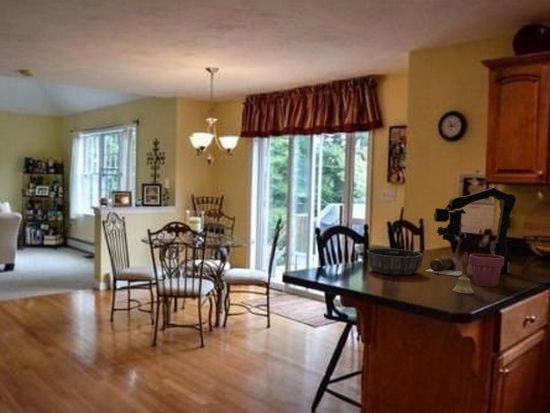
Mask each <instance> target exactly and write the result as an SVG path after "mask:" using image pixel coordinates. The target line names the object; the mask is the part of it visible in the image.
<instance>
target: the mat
mask: <svg viewBox="0 0 550 413" xmlns="http://www.w3.org/2000/svg"><path fill="white" fill-rule="evenodd" d="M424 272H425V273H432V274H438V273H439V274H440V275H447V276H451V277H452V276H453V277H454V276H455V277H461V276H462V273H463V272H462V271H458V270H456V271H452V270H441V271H434V270H432V269H431V268H428V269H426V270H424ZM439 274H438V275H439Z"/></svg>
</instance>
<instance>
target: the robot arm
mask: <svg viewBox="0 0 550 413" xmlns="http://www.w3.org/2000/svg"><path fill="white" fill-rule="evenodd" d="M490 197H492V198H494V199H496V200H498V202H499V204H498V205H499V209H500V212H499V218H498V223H497V224H498V225H497V231H496V236H495V240H494V241H492V240H491V241H490V247H489V250H490V253H491V255H498V256H503V257H504V266H502V268H501V272H500V274H506V275H507V274H510V272H511V271H510V262H511V260H512V257H511V255H510V254H509V253H508V245H507V241H506V240H507V233H508V229H509V222H510V217H511V212H512V211H513V209H514V207H515V204H516V202H517V198H516V196H515V195H514V194H513V193H505V192H503V191H501V190H498V189H497V188H495V187H489V188H487V189H484V190H480V191H478V192H475V193H471V194H468V195H462V196H455V197H452V198H450V200H449V202H448V204H447V205H446V206H445V207H444V208H437V207H436V208H435V209H434V213H433V221H434V222H437V223H438V222H439V223H447V222H448V224H447V227H443V226H439V227H437V229H436V233H437V235H438V236H442V240H444V241H448V243H450V247H451V252H452V254H456V253H457V250H458V248H459V246H460V245H461V243H462V241H463V239H467V233H466V232H462V227H463V224H462V217H463V216H462V214H463V215H464V214H467V212H466V211H465V209H463V208H464V207H466V206H468V205H469V204H472V203H476V202H478V201H481V200H484V199H486V198H490ZM461 238H462V239H461Z"/></svg>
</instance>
